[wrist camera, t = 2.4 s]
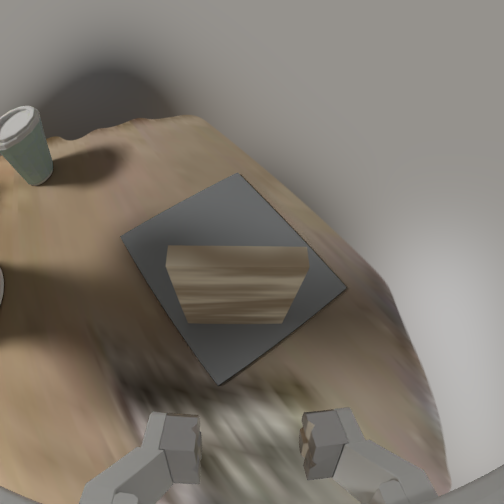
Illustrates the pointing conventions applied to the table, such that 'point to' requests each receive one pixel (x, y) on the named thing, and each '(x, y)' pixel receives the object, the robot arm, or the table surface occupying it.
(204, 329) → the charcoal mat
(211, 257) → the ash tile
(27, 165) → the disposable coffee cup
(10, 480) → the table surface
